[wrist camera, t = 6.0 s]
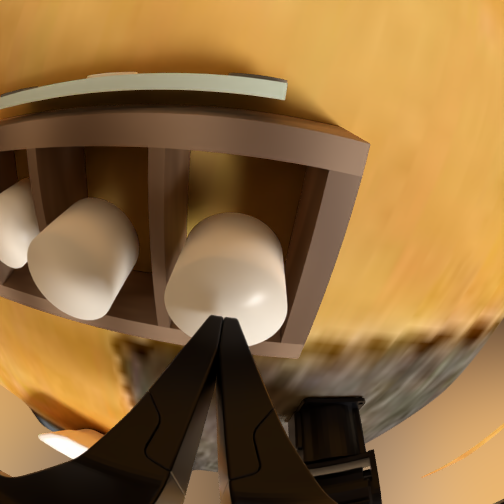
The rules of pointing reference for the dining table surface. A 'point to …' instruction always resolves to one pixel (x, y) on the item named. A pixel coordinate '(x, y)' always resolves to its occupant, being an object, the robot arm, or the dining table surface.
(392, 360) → the dining table surface
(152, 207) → the brown compartment tray
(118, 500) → the robot arm
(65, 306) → the button mid
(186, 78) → the card
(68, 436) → the bowl
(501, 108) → the dining table surface
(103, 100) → the dining table surface
